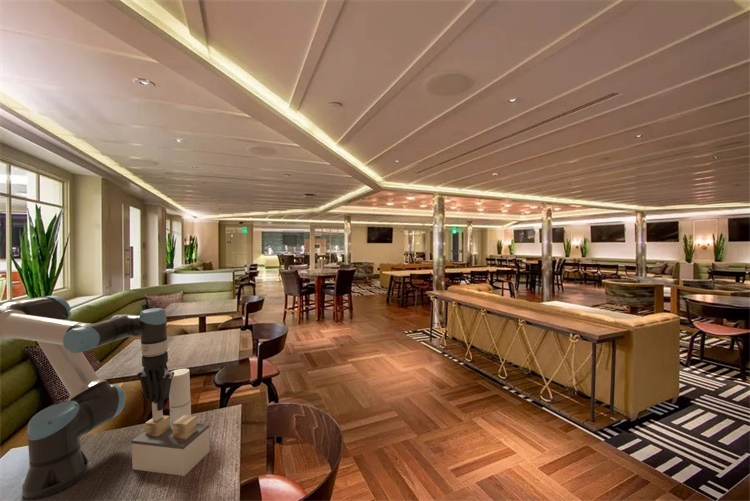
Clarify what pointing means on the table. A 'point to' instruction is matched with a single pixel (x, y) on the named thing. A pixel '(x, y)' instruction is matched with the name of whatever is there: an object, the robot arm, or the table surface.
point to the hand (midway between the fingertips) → (157, 418)
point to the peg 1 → (157, 426)
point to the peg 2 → (184, 427)
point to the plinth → (170, 451)
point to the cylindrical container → (180, 394)
